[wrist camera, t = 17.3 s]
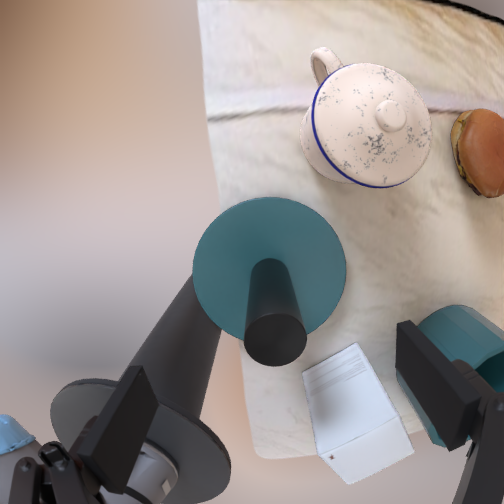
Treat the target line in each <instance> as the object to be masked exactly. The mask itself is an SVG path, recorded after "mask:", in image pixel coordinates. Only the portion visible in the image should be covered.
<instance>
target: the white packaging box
mask: <svg viewBox="0 0 504 504" xmlns="http://www.w3.org/2000/svg"><path fill="white" fill-rule="evenodd" d="M302 376H303V381H304V386H305V391H306V396H307V401H308V406H309V411H310V417H311V422H312V427H313V432H314V437H315V443H316V448H317V454H318V456H319V457H320V458H321V459H323V460H324V461H325V462H326V463H327V464H328V465H329V466H330V467H331V468H332V469H333V470H334V471H335V472H336V473H337V474H338V475H339V476H340V477H341V478H342V479H343V480H344V481H345V482H346V483H347V484H348V485H350V484H353V483H355V482H357V481H359V480H362V479H364V478H366V477H368V476H370V475H373V474H375V473H376V472H379V471H381V470H383V469H385V468H387V467H389V466H391V465H393V464H395V463H397V462H399V461H400V460H402V459H404V458H406V457H408V456H410V455H411V454H413V453H415V451H414V448H413V446H412V443H411V441H410V438H409V436H408V433H407V431H406V428H405V426H404V424H403V421H402V419H401V417H400V414H399V413H398V411H397V410H396V408H395V407H394V405H393V403H392V401H391V400H390V398H389V396H388V394H387V392H386V391H385V389H384V387H383V385H382V383H381V382H380V380H379V378H378V376H377V375H376V373H375V371H374V369H373V367H372V366H371V364H370V362H369V360H368V359H367V357H366V355H365V354H364V352H363V351H362V349H361V347H360V346H359V344H358V343H357V342H356V343H354V344H353V345H351V346H349V347H348V348H346V349H344V350H343V351H341V352H339V353H337V354H336V355H334V356H332V357H330V358H328V359H327V360H325V361H323V362H321V363H319V364H317V365H315V366H314V367H312V368H310V369H308V370H306V371H304V372H302Z"/></svg>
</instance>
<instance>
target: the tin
mask: <svg viewBox="0 0 504 504" xmlns="http://www.w3.org/2000/svg"><path fill="white" fill-rule="evenodd" d="M417 328H418V329H419V330H420V331H421V332H422V333H423V334H424V335H425V336H426V337H427V338H428V339H429V340H430V341H431V342H432V343H433V344H434V345H435V346H436V347H437V348H438V349H439V350H440V351H441V352H442V353H443V354H444V355H445V356H446V357H447V358H448V359H449V360H450V361H453V360H456V359H458V358H459V359H461V360H463V361H465V362H467V363H468V364H469V365H470V366H471V367H472V368H473V369H474V370H475V371H476V372H477V373H478V374H479V375H480V376H481V377H482V378H483V379H484V380H485V381H486V382H487V383H488V384H489V385H490V386H491V387H492V388H493V389H494V390H495V391H496V392H497V393H498V392H504V331H502V330H501V329H500V328H498V327H497V326H496V325H494V324H493V323H492V322H490V321H489V320H488V319H486V318H485V317H484V316H482V315H481V314H479V313H478V312H477V311H475V310H474V309H472V308H469V307H467V306H464V305H452V306H448V307H445V308H442V309H440V310H438V311H436V312H434V313H433V314H431V315H430V316H428V317H427V318H426V319H425V320H423V321H422V322H421V323H420V324H419V325H418V326H417ZM396 375H397V380H398V383H399V385H400V387H401V389H402V391H403V393H404V394H405V396H406V398H407V399H408V401H409V403H410V404H411V406H412V408H413V409H414V411H415V413H416V415H417V416H418V418H419V420H420V422H421V423H422V425H423V427H424V429H425V430H426V432H427V434H428V436H429V437H430V439H431V441H432V443H433V444H436V445H439V446H442V447H446V445H445V444H444V442H443V440H442V439H441V437H440V436H439V434H438V432H437V431H436V429H435V427H434V426H433V424H432V423H431V421H430V420H429V418H428V416H427V415H426V413H425V412H424V410H423V409H422V407H421V405H420V404H419V402H418V401H417V399H416V398H415V396H414V395H413V393H412V392H411V390H410V389H409V387H408V385H407V384H406V382H405V381H404V379H403V378H402V376H401V375H400V373H399V372H398V371H397V369H396ZM470 439H471V438H470V436H469V435H468V438H467V440H466V441H468V440H470Z"/></svg>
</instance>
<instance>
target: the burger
mask: <svg viewBox="0 0 504 504" xmlns="http://www.w3.org/2000/svg"><path fill="white" fill-rule="evenodd" d="M451 143H452V148H453V152H454V157H455V160H456V164H457V167H458V170H459V172H460V176H461V177H462V178H463V179H464V181H465V182H466V183H467V184H468V185H469V187H471V188H472V189H473V191H474V192H475V193H476V194H477V195H478V196H479V195H484V196H485V197H487V198H494V197H499V196H501V195H503V194H504V120H503V119H502V118H501V117H500V116H499V115H498V114H496V113H495V112H492V111H490V110H486V109H477V110H469V111H465V112H463V113H462V114H461V115H460V116H459V117H458V118H457V120H456V121H455V123H454V125H453V128H452V131H451Z"/></svg>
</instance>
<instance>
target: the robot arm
mask: <svg viewBox="0 0 504 504" xmlns="http://www.w3.org/2000/svg"><path fill="white" fill-rule="evenodd" d="M395 368H396V369H397V371H398V372H399V373H400V375H401V376H402V378H403V379H404V381H405V382H406V384H407V385H408V387H409V389H410V390H411V392H412V393H413V395H414V396H415V398H416V399H417V401H418V402H419V404H420V405H421V407H422V409H423V410H424V412H425V413H426V415H427V416H428V418H429V420H430V421H431V423H432V424H433V426H434V427H435V429H436V431H437V432H438V434H439V436H440V437H441V439H442V440H443V442H444V444H445V445H446V447H447V449H448V450H449V452H450V451H452V450H454V449H456V448H459V447H460V446H462V445H465V443H466V440H467V438H468V435H469V436H470V438H471V439H472V441H473V442H472V444H471V446H470V448H469V451H468V453H467V455H466V456H467V457H468V458H467V461H466V465H465V468H464V471H463V474H462V477H461V480H460V483H459V486H458V489H457V492H456V495H455V497H454V500H453V502H452V504H501V503H502V500H503V496H504V392H498V393H497V392H496V391H495V390H494V389H493V388H492V387H491V386H490V385H489V384H488V383H487V382H486V381H485V380H484V379H483V378H482V377H481V376H480V375H479V374H478V373H477V372H476V371H475V370H474V369H473V368H472V367H471V366H470V365H469V364H468V363H467V362H465V361H463V360H461V359H459V358H458V359H456V360H453V361H450V360H449V359H448V358H447V357H446V356H445V355H444V354H443V353H442V352H441V351H440V350H439V349H438V348H437V347H436V346H435V345H434V344H433V343H432V342H431V341H430V340H429V339H428V338H427V337H426V336H425V335H424V334H423V333H422V332H421V331H420V330H419V329H418V328H417V327H416V326H415V325H414V324H413V323H412V322H411V321H410V320H408V321H404V322H401V323H397V339H396V365H395ZM158 407H159V403H158V401H157V399H156V397H155V394H154V392H153V390H152V388H151V385H150V383H149V381H148V378H147V376H146V374H145V371H144V369H143V366H130V367H129V368H128V370H127V371H126V373H125V375H124V376H123V378H122V379H121V381H120V382H119V384H118V385H117V387H116V389H115V390H114V392H113V393H112V395H111V396H110V398H109V400H108V401H107V403H106V404H105V406H104V408H103V409H102V411H101V412H100V414H99V416H96V415H95V416H93V417H92V418H91V419H90V420H89V421H87V423H86V424H85V426H84V428H83V430H82V431H81V432H80V434H79V436H78V437H77V439H76V440H75V442H74V443H73V445H72V447H71V448H70V450H69V451H68V452H67V451H66V449H65V448H64V447H63V445H62V444H61V443H60V442H57V441H52V442H48V443H46V444H44V445H43V446H41V445H40V444H39V443H38V442H37V441H36V440H35V437H34V436H33V435H30V434H29V433H28V432H27V431H26V430H25V429H24V428H23V427H22V426H21V425H20V424H19V423H18V422H17V421H16V420H15V419H14V418H13V417H11V416H9V415H4V414H2V415H0V504H160V503H161V502H162V501H163V500H164V498H165V497H166V496H167V494H168V493H169V492H170V490H171V489H172V488H173V487H174V486H175V484H176V483H177V479H178V476H179V467H178V464H177V462H176V461H175V459H174V458H173V457H172V456H171V455H170V454H169V453H168V452H167V451H166V450H165V449H163V448H162V447H161V446H159V445H158V444H156V443H155V442H153V441H151V440H149V439H147V438H146V436H147V433H148V431H149V428H150V426H151V424H152V421H153V419H154V416H155V414H156V411H157V409H158Z"/></svg>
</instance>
